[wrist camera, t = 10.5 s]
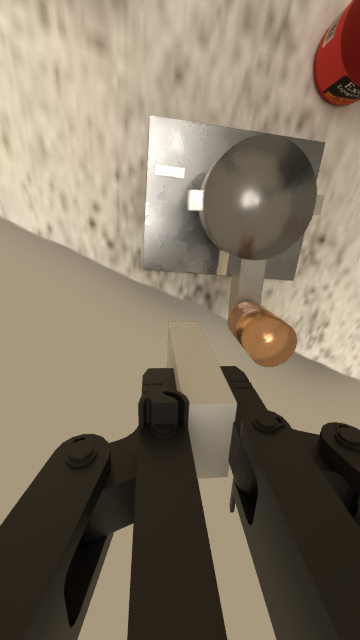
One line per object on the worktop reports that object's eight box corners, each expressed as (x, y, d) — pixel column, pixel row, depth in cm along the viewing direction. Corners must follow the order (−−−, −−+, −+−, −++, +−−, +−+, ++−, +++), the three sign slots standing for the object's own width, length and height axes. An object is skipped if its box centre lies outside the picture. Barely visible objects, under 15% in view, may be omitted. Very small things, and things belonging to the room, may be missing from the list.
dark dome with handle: (188, 140, 24) (209, 96, 16) (318, 148, 25) (401, 112, 17) (182, 330, 30) (195, 369, 22) (288, 328, 31) (338, 364, 23)
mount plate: (317, 146, 32) (364, 124, 25) (287, 278, 37) (320, 290, 30) (150, 120, 30) (151, 87, 22) (142, 267, 35) (141, 277, 28)
